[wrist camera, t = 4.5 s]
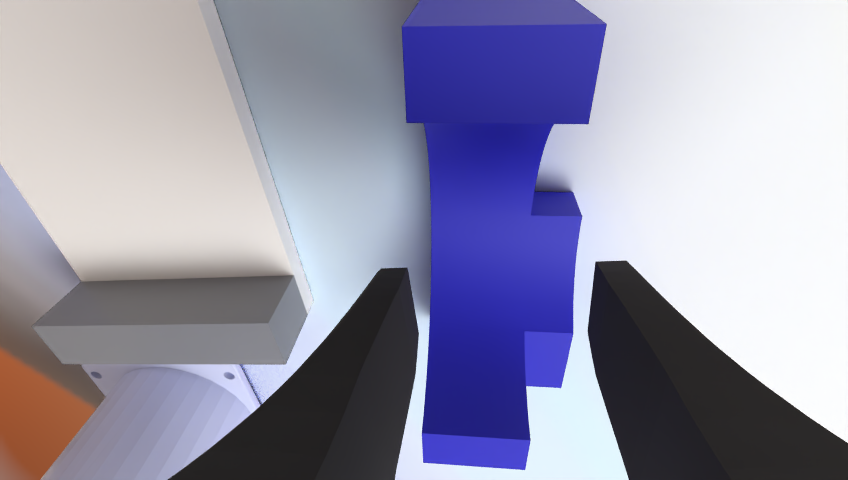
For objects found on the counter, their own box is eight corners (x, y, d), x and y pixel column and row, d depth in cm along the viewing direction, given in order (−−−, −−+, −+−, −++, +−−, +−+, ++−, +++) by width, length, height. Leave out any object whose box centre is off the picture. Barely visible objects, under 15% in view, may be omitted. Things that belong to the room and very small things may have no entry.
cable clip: (549, 325, 18) (577, 473, 13) (436, 320, 19) (423, 462, 14) (610, -20, 11) (715, 22, 6) (431, -17, 12) (401, 26, 7)
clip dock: (313, 300, 19) (285, 364, 16) (118, 305, 20) (62, 364, 17) (79, -403, 9) (-101, -549, 6) (-279, -303, 10) (-556, -385, 7)
